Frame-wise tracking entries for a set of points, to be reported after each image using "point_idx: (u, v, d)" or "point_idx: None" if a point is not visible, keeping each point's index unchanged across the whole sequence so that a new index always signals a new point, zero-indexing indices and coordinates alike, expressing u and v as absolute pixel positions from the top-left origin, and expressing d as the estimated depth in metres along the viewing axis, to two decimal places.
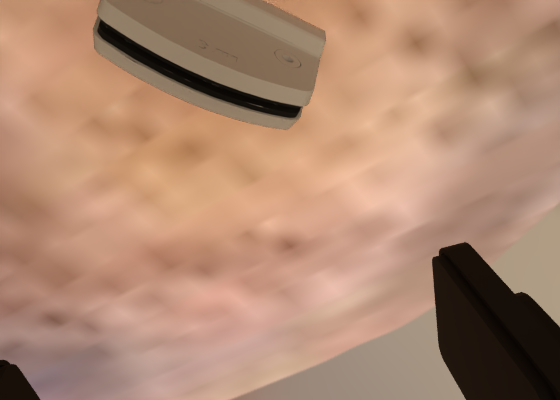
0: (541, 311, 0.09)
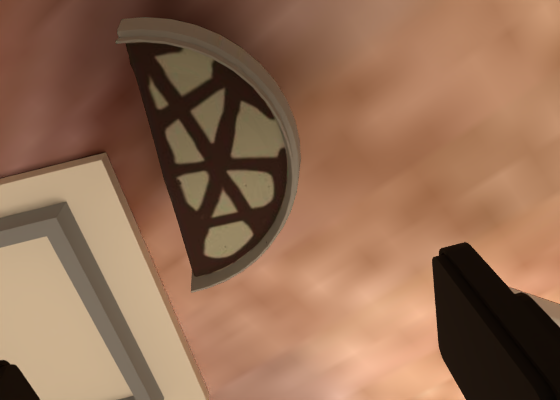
0: (541, 311, 0.09)
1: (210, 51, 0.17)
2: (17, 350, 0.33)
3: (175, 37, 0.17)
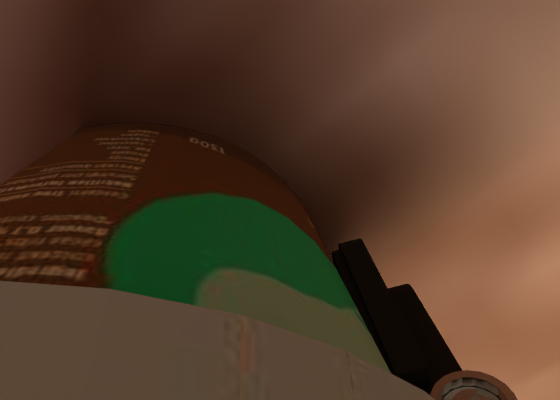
0: (419, 300, 0.09)
1: None
2: None
3: None
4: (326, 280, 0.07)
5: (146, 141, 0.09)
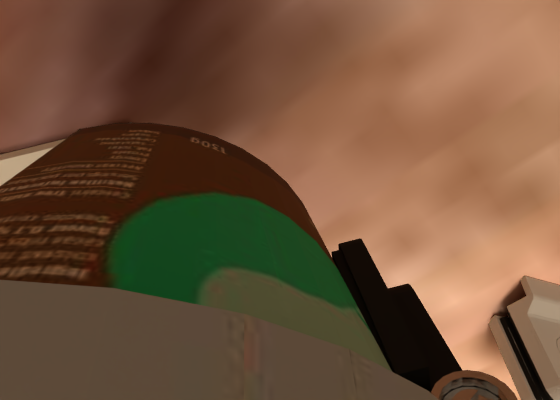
0: (419, 301, 0.09)
1: None
2: None
3: None
4: (328, 280, 0.07)
5: (147, 142, 0.09)
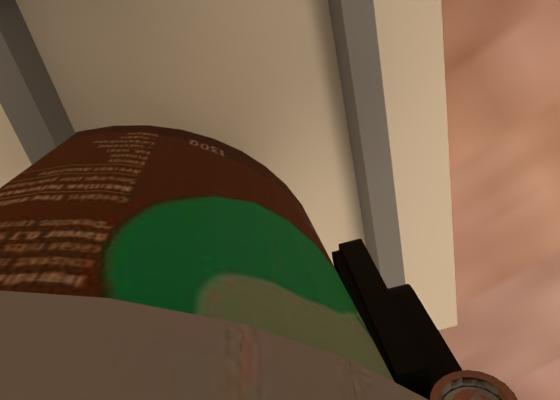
0: (419, 301, 0.09)
1: None
2: None
3: None
4: (327, 284, 0.07)
5: (146, 144, 0.09)
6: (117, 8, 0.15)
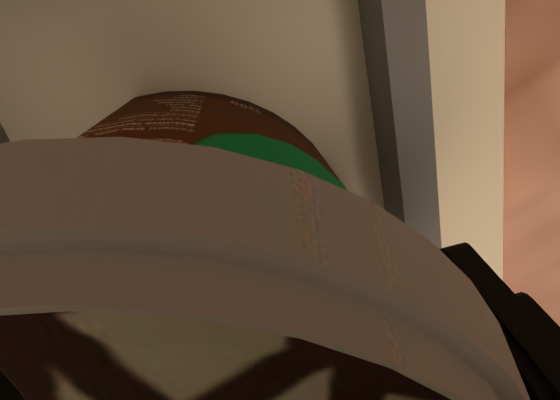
0: (541, 312, 0.09)
1: (284, 283, 0.04)
2: None
3: (129, 245, 0.04)
4: None
5: (196, 101, 0.11)
6: (81, 23, 0.12)
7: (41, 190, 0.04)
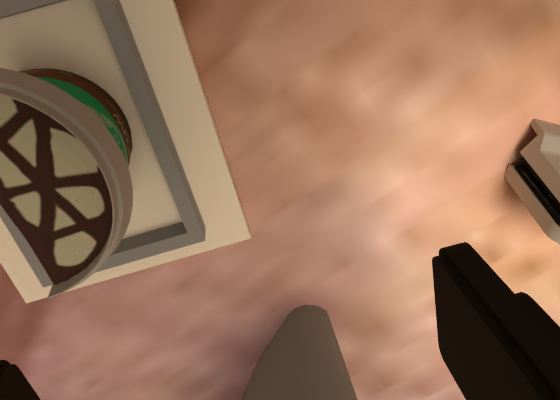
0: (542, 311, 0.09)
1: (8, 90, 0.20)
2: None
3: None
4: (85, 100, 0.25)
5: (39, 70, 0.27)
6: None
7: None
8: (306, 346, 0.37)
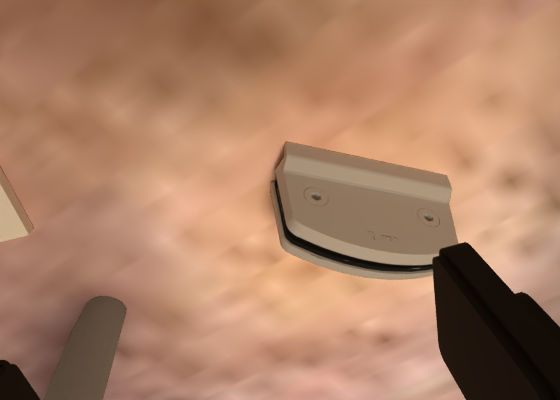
0: (542, 311, 0.09)
1: None
2: None
3: None
4: None
5: None
6: None
7: None
8: (80, 332, 0.41)
